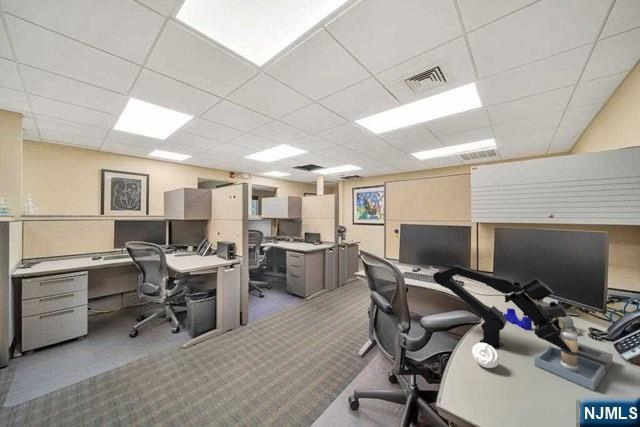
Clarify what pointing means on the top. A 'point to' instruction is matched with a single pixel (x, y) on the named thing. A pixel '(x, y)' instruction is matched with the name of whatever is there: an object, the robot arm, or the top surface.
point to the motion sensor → (485, 355)
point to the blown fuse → (569, 358)
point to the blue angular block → (513, 319)
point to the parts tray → (585, 377)
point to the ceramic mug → (567, 323)
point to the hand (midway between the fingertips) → (569, 346)
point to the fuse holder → (595, 355)
